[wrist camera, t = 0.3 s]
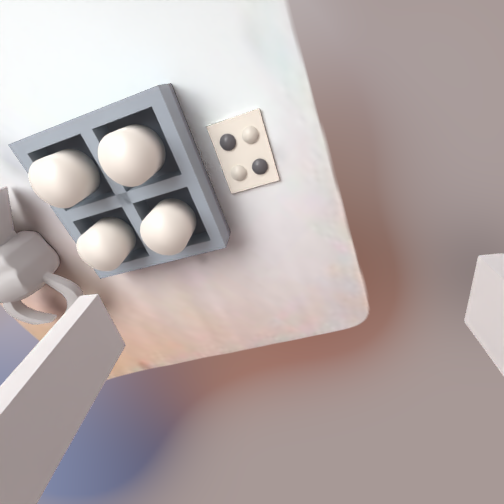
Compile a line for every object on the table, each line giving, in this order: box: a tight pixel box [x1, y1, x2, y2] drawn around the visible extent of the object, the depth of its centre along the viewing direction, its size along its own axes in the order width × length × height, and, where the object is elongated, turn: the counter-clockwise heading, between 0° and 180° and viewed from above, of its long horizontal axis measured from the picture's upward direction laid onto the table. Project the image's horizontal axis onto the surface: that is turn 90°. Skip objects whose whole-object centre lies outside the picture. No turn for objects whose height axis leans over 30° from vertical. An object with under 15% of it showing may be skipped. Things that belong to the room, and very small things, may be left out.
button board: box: [9, 83, 230, 279], centre depth 36 cm, size 18×18×4 cm
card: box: [207, 108, 279, 194], centre depth 35 cm, size 8×6×1 cm
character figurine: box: [0, 187, 83, 324], centre depth 41 cm, size 13×9×20 cm
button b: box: [76, 217, 136, 271], centre depth 37 cm, size 5×5×4 cm
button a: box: [140, 198, 196, 256], centre depth 35 cm, size 5×5×4 cm
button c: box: [98, 124, 166, 187], centre depth 31 cm, size 5×5×4 cm
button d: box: [28, 149, 100, 208], centre depth 33 cm, size 5×5×4 cm
